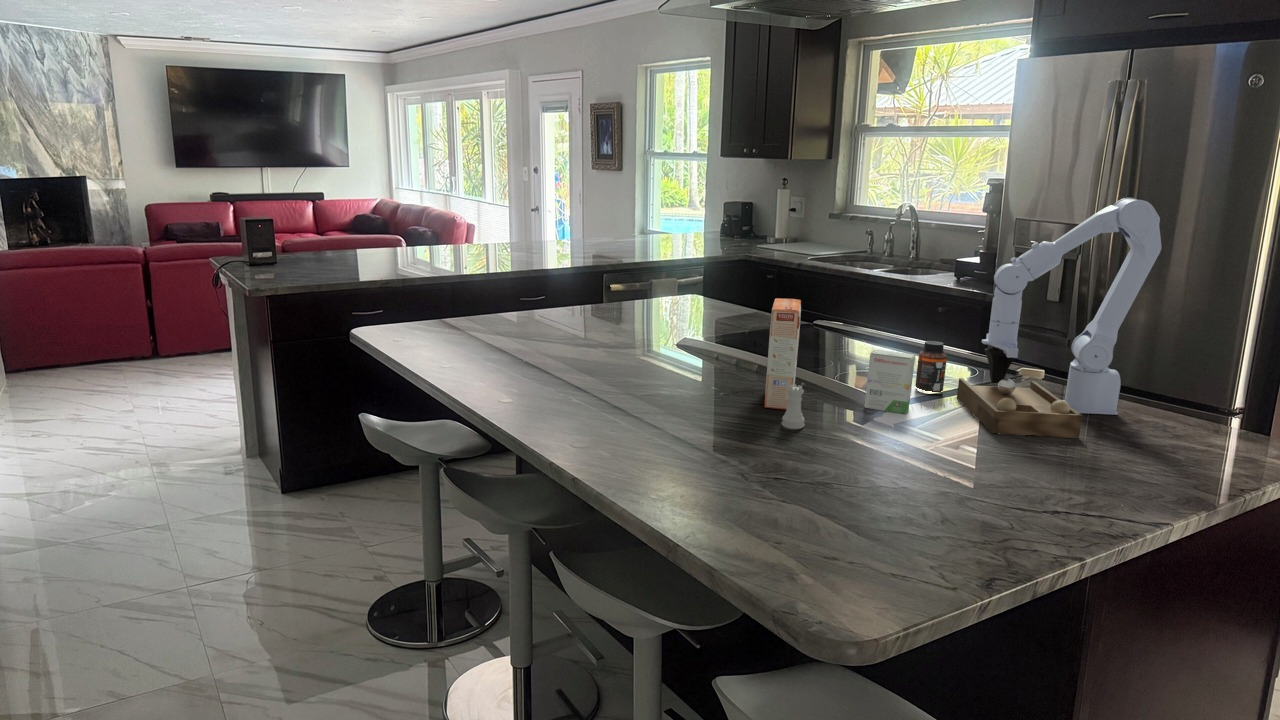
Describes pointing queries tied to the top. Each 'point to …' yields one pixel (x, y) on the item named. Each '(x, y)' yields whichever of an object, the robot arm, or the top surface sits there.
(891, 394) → the ink box
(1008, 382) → the steel ball
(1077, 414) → the board
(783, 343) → the cracker box
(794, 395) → the rook chess piece
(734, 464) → the top surface
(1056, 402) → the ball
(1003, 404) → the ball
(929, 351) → the supplement bottle
